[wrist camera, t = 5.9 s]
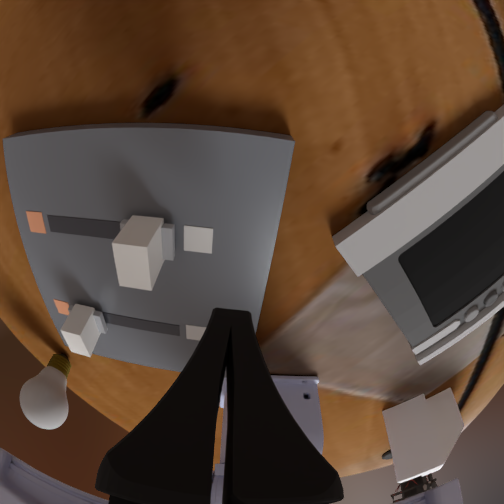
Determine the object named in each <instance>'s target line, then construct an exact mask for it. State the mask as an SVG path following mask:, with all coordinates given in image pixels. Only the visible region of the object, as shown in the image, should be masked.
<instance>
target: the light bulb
mask: <svg viewBox="0 0 504 504" xmlns="http://www.w3.org/2000/svg"><path fill="white" fill-rule="evenodd" d="M70 367H71V364H70V362H69V360H68V358H67V356H66V355H64V354H53V356H52V358H51V359H50V361H49V363H48V365H47V367H45V368H44V369H43V370H42V371H41V372H40V374H38V375H37V376H35V377H34V378H32V379H30V380H28V381H27V382H26V383H25V384H24V385H23V387H22V389H21V392H20V404H21V407H22V410H23V412H24V414H25V416H26V417H27V418H28V419H29V420H30V421H31V422H32V423H33V424H34V425H36V426H38V427H40V428H43V429H54V428H57V427H59V426H61V425H62V424H63V423H64V421H65V420H66V418H67V415H68V402H67V397H66V384H67V380H66V379H67V377H68V374H69V371H70Z"/></svg>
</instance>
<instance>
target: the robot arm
mask: <svg viewBox="0 0 504 504" xmlns="http://www.w3.org/2000/svg"><path fill="white" fill-rule="evenodd" d="M225 370H226V378H224V376H225ZM318 382H319V378H318V377H315V376H277V375H270V373H269V371H268V368H267V366H266V363H265V361H264V358H263V355H262V353H261V350H260V347H259V344H258V341H257V338H256V334H255V330H254V326H253V322H252V315H251V313H250V312H249V311H244V310H235V309H226V308H217V307H216V308H214V309H213V310H212V314H211V317H210V320H209V322H208V325H207V327H206V329H205V331H204V334H203V336H202V338H201V339H200V341H199V343H198V345H197V347H196V349H195V351H194V352H193V354H192V356H191V357H190V359H189V361H188V362H187V364H186V365H185V367H184V369H183V370H182V372H181V373H180V375H179V376H178V378H177V379H176V380H175V382H174V383H173V384H172V386H171V387H170V388H169V390H168V391H167V392H166V394H165V395H164V396H163V397H162V399H161V400H160V401H159V402H158V403H157V405H156V406H155V407H154V408H153V409H152V410H151V411H150V412H149V414H148V415H147V416H146V417H145V418H144V419H143V420H142V421H141V422H140V423H139V424H138V425H137V426H136V427H135V428H134V429H133V430H132V431H131V432H130V433H129V434H128V435H126V436H125V437H124V438H123V439H122V440H121V441H120V442H118V443H117V444H116V445H115V446H114V447H112V448H111V449H110V450H109V451H108V452H107V453H106V455H105V457H104V458H103V460H102V462H101V464H100V467H99V470H98V473H97V478H96V484H95V488H96V489H97V490H98V491H101V492H104V493H107V494H109V495H110V498H109V501H108V500H105V499H102V498H99V497H96V496H94V495H91V494H88V493H86V492H83V491H81V490H78V489H76V488H74V487H71V486H69V485H66V484H64V483H62V482H60V481H58V480H56V479H54V478H51V477H49V476H47V475H45V474H43V473H42V472H40V471H38V470H36V469H34V468H32V467H31V466H30V465H28V464H26V463H25V462H23V461H21V460H19V459H18V458H16V457H15V456H13V455H11V454H10V453H8V452H7V451H5V450H3V449H1V448H0V504H329V503H334V502H337V501H341V500H342V499H343V498H344V495H343V487H342V484H341V480H340V477H339V475H338V472H337V471H336V470H335V469H334V468H333V467H332V466H331V465H330V464H329V463H328V462H327V460H326V459H325V458H324V457H323V456H322V450H323V439H324V438H323V426H322V418H321V410H320V403H319V396H318V389H317V384H318ZM219 403H220V407H221V408H224V410H223V424H222V438H221V453H220V464H215V471H213V456H214V443H215V430H216V420H217V413H218V408H219ZM392 504H463V499H462V493H461V488H460V483H459V479H458V478H455V479H453V480H451V481H449V482H447V483H444V484H442V485H440V486H438V487H435V488H432V489H430V490H427V491H425V492H422V493H419V494H417V495H414V496H411V497H408V498H406V499H405V500H402V501H398V502H395V503H392Z"/></svg>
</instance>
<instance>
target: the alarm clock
mask: <svg viewBox="0 0 504 504" xmlns="http://www.w3.org/2000/svg"><path fill="white" fill-rule="evenodd" d="M367 210H368V211H367V212H366V213H364V214H363V215H361V216H360V217H359V218H357V219H356V220H355V221H353V222H352V223H350V224H349V225H348V226H346V227H345V228H343V229H342V230H341V231H339V232H338V233H336V234H335V235H334V236H332V238H333V241H334V244H335V247H336V248H337V250H338V251H339V252H340V253H341V255H342V256H343V257H344V259H345V260H346V262H347V263H348V264H349V266H350V267H351V268H352V270H353V271H354V272H355V274H356V275H357V277H359V276H360V275H362V274H363V276H364V277H365V278H366V280H367V281H368V283H369V284H370V286H371V287H372V288H373V290H374V291H375V293H376V294H377V296H378V297H379V299H380V300H381V302H382V303H383V304H384V306H385V307H386V309H387V310H388V312H389V313H390V315H391V316H392V318H393V319H394V321H395V322H396V324H397V325H398V327H399V328H400V329H401V331H402V332H403V334H404V335H405V337H406V338H407V340H408V342H409V344H410V346H411V349H412V351H413V352H414V354H415V357H416V359H417V361H418V363H419V364H420V365H422V364H423V363H425V362H427V361H428V360H430V359H432V358H433V357H435V356H436V355H438V354H440V353H441V352H443V351H444V350H446V349H447V348H449V347H450V346H452V345H453V344H455V343H456V342H458V341H459V340H461V339H462V338H464V337H465V336H466V335H468V334H469V333H470V332H472V331H473V330H475V329H476V328H477V327H479V326H480V325H481V324H482V323H484V322H485V321H486V320H488V319H489V318H490V317H491V316H493V315H494V314H495V313H496V312H498V311H499V310H500V309H501V308H502V307H503V306H504V104H503V105H502V106H501V107H500V108H499V109H498V110H496V111H495V112H493V111H485V112H484V113H483V114H482V115H481V116H479V117H478V118H477V119H476V120H474V121H473V122H472V123H471V124H469V125H468V126H467V127H466V128H464V129H463V130H462V131H461V132H459V133H458V134H457V135H456V136H454V137H453V138H452V139H451V140H449V141H448V142H447V143H445V144H444V145H443V146H442V147H440V148H439V149H438V150H437V151H435V152H434V153H433V154H431V155H430V156H429V157H427V158H426V159H425V160H424V161H422V162H421V163H420V164H418V165H417V166H416V167H414V168H413V169H412V170H411V171H409V172H408V173H407V174H405V175H404V176H403V177H401V178H400V179H399V180H397V181H396V182H395V183H393V184H392V185H391V186H389V187H388V188H387V189H385V190H384V191H383V192H381V193H380V194H379V195H377V196H376V197H374V198H373V199H372V200H370V201H369V202H368V203H367Z"/></svg>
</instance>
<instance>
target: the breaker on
mask: <svg viewBox="0 0 504 504" xmlns="http://www.w3.org/2000/svg"><path fill="white" fill-rule="evenodd" d="M68 311H69V313H70V314H69V315H68V317H67V319H66V321H65V322H64V324H63V326H62V328H61V333H62V335H63V337H64V339H65V340H66V342H67V344H68V346H69V348H70V350H71V352H74V353H78V354H81V355H84V356H88V357H91V354H92V352H93V350H94V347H95V345H96V343H97V341H98V338H99V336H100V334H101V333H104V334H106V332H107V330H108V329H107V326H106V323H105V320H104V317H103V313H102V312H100V311H95V308H93V307H89V306H84V305H80V304H75V305H74V306H73V305H70V306H69V308H68Z"/></svg>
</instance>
